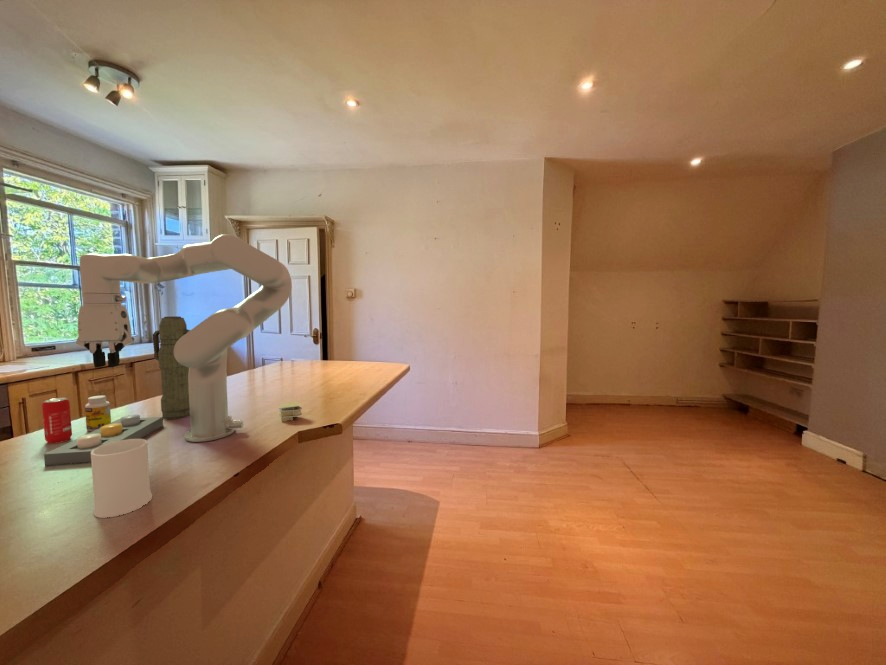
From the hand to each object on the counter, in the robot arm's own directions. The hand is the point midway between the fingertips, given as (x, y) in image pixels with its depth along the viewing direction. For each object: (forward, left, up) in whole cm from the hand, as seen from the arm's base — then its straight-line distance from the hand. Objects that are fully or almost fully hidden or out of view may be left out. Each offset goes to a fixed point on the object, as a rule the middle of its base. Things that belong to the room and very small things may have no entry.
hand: (107, 366), depth 96 cm
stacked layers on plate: (-45, -12, -23) cm, 52 cm away
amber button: (0, 0, -21) cm, 21 cm away
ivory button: (0, +8, -21) cm, 22 cm away
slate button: (0, -8, -21) cm, 22 cm away
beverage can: (+16, -5, -22) cm, 28 cm away
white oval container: (-23, +34, -22) cm, 47 cm away
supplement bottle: (+12, -14, -22) cm, 29 cm away
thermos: (-5, -24, -22) cm, 33 cm away
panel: (0, 0, -22) cm, 22 cm away
